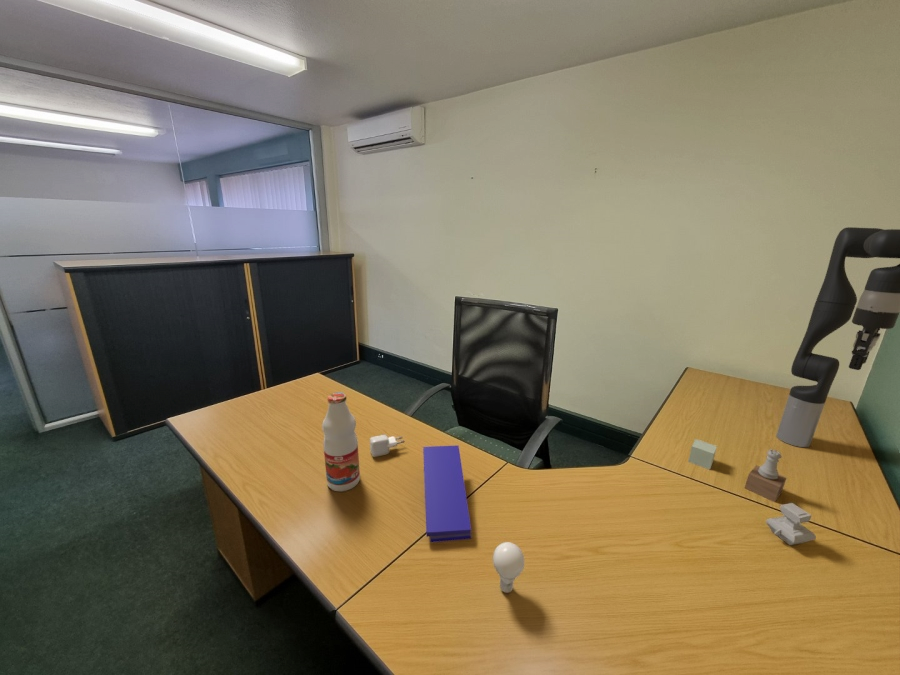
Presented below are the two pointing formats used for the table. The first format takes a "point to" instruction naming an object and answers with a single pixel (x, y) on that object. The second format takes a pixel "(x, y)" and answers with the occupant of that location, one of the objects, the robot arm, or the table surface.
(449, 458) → the purple rectangular block
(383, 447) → the power adapter
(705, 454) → the sage block
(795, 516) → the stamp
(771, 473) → the rook chess piece
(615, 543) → the table surface
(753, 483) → the walnut block
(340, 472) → the fruit juice
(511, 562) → the lightbulb
